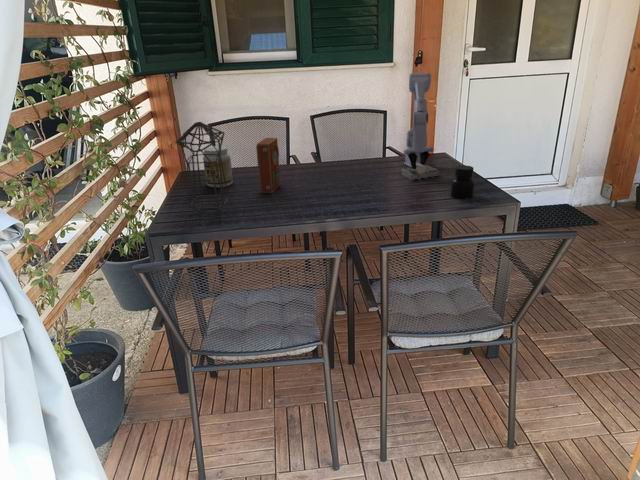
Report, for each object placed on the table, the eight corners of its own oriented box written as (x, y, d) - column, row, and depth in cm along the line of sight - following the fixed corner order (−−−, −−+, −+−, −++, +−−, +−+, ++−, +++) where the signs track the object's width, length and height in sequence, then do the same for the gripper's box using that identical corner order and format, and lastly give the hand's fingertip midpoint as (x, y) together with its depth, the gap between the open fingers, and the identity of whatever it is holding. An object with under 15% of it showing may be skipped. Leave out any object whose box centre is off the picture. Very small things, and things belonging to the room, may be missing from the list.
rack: (400, 175, 216) (401, 168, 215) (426, 171, 221) (426, 165, 219) (411, 180, 208) (411, 173, 207) (438, 176, 212) (438, 170, 211)
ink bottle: (477, 195, 186) (480, 166, 182) (470, 201, 180) (473, 171, 175) (453, 191, 192) (456, 163, 187) (446, 197, 185) (448, 168, 180)
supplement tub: (201, 187, 209) (196, 150, 202) (214, 180, 219) (210, 144, 212) (225, 189, 205) (221, 151, 198) (237, 181, 216) (233, 145, 209)
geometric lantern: (233, 205, 185) (224, 117, 170) (227, 220, 170) (216, 126, 155) (194, 206, 184) (181, 118, 169) (185, 221, 170) (170, 127, 155)
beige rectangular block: (411, 173, 216) (412, 163, 214) (417, 173, 216) (417, 162, 214) (419, 177, 210) (419, 166, 208) (425, 176, 210) (425, 166, 208)
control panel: (282, 184, 209) (273, 194, 196) (268, 183, 211) (257, 193, 197) (279, 137, 201) (269, 144, 187) (264, 137, 202) (253, 144, 189)
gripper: (409, 142, 201) (408, 172, 207) (438, 139, 206) (436, 168, 211) (401, 139, 207) (400, 168, 213) (429, 136, 212) (427, 165, 217)
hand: (417, 168), depth 212 cm, fingers open, 4 cm apart
